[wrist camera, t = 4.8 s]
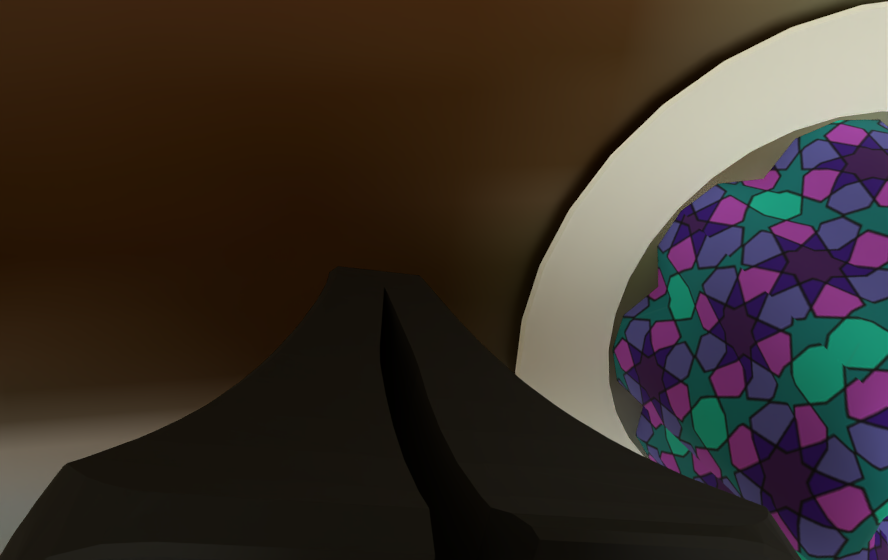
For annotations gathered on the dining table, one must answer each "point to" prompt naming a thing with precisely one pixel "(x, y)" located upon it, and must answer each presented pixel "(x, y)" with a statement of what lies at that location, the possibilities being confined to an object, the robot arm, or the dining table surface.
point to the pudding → (743, 288)
